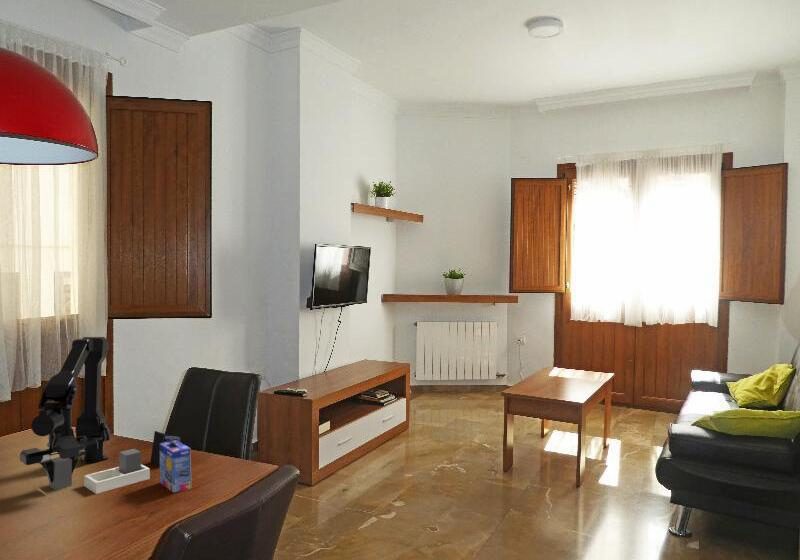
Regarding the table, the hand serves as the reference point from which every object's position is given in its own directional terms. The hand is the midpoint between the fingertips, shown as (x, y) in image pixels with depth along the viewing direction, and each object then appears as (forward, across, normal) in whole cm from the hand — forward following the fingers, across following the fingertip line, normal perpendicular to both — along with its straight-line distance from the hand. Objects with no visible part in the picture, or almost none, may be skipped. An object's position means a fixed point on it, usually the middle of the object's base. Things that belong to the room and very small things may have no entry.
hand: (60, 479), depth 167 cm
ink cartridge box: (+2, +22, -23) cm, 32 cm away
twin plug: (+2, +16, -9) cm, 18 cm away
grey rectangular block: (+2, 0, 0) cm, 2 cm away
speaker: (+2, +30, -3) cm, 30 cm away
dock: (+2, +12, -9) cm, 15 cm away
